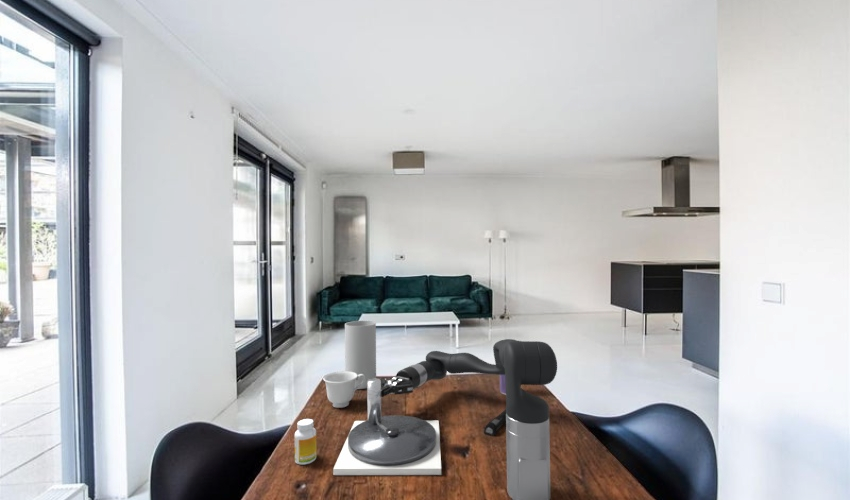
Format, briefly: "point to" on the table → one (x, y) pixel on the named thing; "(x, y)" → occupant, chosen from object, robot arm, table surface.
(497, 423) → the electric trimmer
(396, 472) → the dial base plate
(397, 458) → the dial
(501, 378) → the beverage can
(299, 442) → the supplement bottle
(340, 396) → the teacup
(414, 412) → the table surface
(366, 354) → the cylinder vase
